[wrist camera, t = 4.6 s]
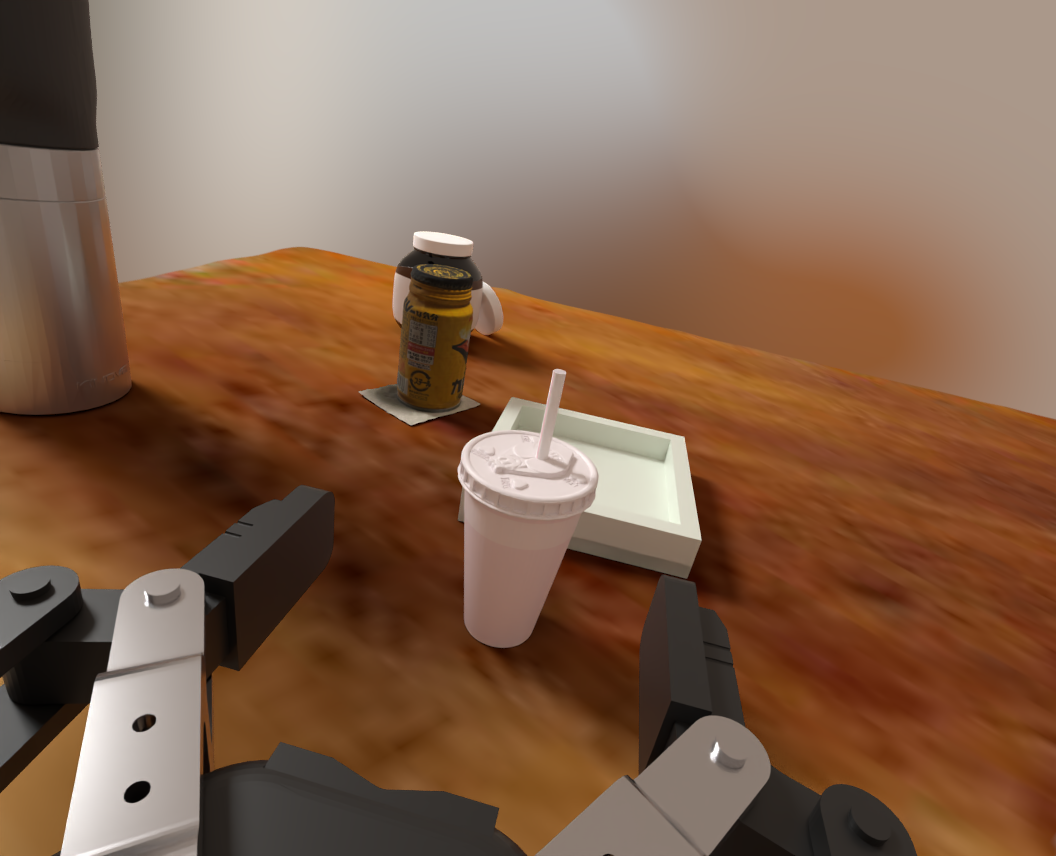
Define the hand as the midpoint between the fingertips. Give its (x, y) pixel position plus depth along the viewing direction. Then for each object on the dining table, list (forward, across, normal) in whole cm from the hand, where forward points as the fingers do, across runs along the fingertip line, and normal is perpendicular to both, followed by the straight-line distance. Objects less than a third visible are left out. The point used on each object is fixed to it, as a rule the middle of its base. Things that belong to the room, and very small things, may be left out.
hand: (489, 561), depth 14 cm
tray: (+27, +2, -13) cm, 30 cm away
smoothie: (+12, -1, -13) cm, 18 cm away
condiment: (+36, -14, -13) cm, 41 cm away
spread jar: (+57, -18, -12) cm, 61 cm away
